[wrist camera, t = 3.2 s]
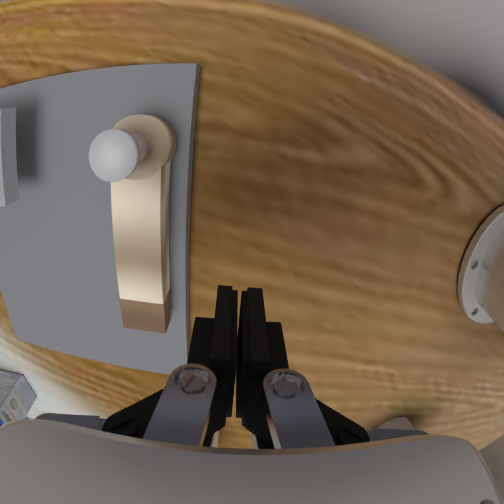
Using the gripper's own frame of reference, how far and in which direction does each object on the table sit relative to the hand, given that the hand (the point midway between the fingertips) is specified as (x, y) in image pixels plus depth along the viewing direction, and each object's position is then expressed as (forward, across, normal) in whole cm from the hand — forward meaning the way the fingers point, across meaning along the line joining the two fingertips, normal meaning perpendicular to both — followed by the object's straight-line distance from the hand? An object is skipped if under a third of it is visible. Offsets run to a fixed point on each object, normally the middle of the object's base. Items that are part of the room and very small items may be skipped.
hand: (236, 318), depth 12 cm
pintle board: (+11, +13, +2) cm, 17 cm away
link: (+8, +6, 0) cm, 10 cm away
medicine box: (+11, +30, +24) cm, 40 cm away
